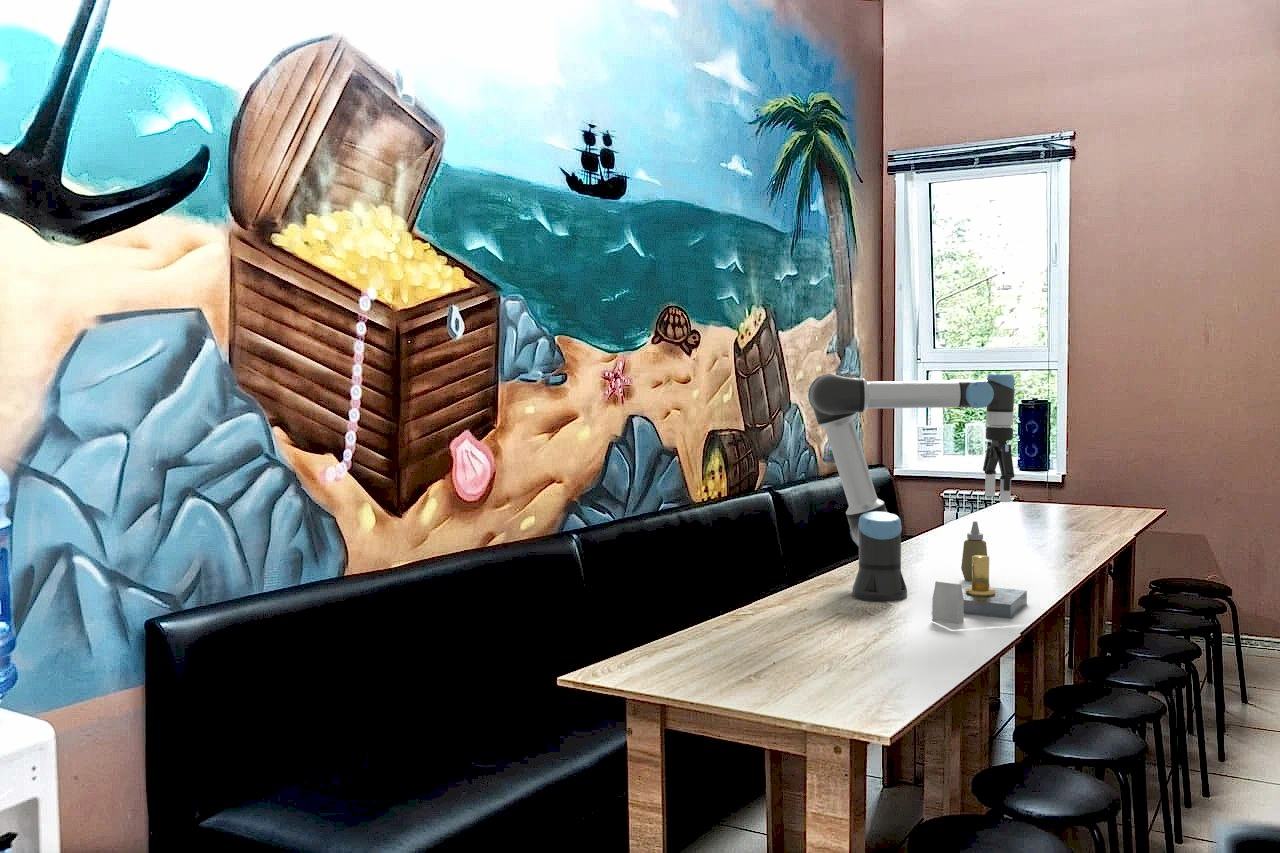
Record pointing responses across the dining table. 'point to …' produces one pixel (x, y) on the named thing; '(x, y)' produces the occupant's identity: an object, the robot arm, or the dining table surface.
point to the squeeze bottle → (972, 550)
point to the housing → (995, 602)
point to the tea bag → (948, 602)
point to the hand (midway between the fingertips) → (997, 499)
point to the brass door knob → (980, 577)
